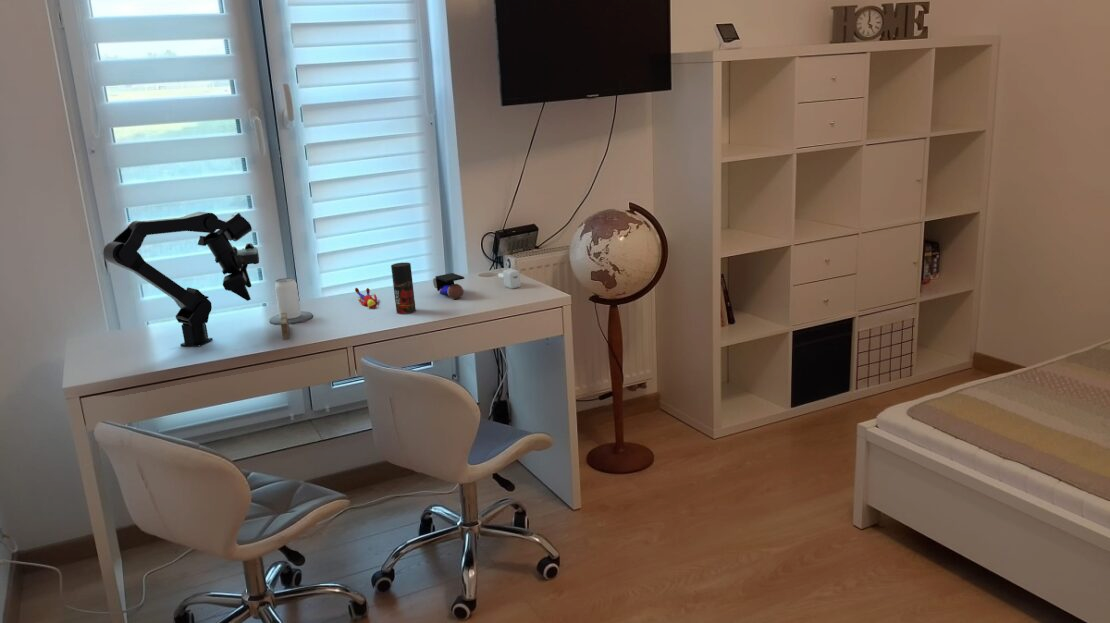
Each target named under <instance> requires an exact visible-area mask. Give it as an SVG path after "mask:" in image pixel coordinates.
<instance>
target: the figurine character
mask: <svg viewBox="0 0 1110 623" xmlns="http://www.w3.org/2000/svg"><path fill="white" fill-rule="evenodd" d="M460 280H461V281H462V280H465V276H462V275H459V274H457V273H454V272H449V273H445V274H440V275H436V276H435V278H433V279H432V283H433V286H434V288H435V289H436V290H437V291H438V292H439V294H441V295H448V297H449V298H450V299H453V300H458V299H460V298H462V297H463V295H464V288H463V287H462V286H461V285H460V284H458V283H455V282H456V281H460Z"/></svg>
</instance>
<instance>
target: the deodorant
mask: <svg viewBox="0 0 1110 623" xmlns="http://www.w3.org/2000/svg"><path fill="white" fill-rule="evenodd" d="M390 268H391V276H392V284H393V285H392V286H393V293H394V294H393V295H394V302H395V311H396V314H398V315H407V314H412V313H415V312H416V300H415V291H414V282H413V274H412V264H411V262H396V263H393V264H391V266H390Z"/></svg>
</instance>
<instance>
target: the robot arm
mask: <svg viewBox="0 0 1110 623" xmlns="http://www.w3.org/2000/svg"><path fill="white" fill-rule="evenodd" d="M252 229H253V227H252V225H251V224H250V222H249V221H248V220H247V219H246V218H245V217H244V216H243V215H241V213H240V212H234V213H233V214H232V215H231V216H229V217H228V218H227V219H225V220H222V219H219V217H218V216H217V215H216V214H215V213H214V212H206V211H197V212H196V211H195V212H193V213H189V214H186V215H185V216H181V217H173V218H171V217H170V218H163V219H162V218H161V219H151V220H134V221H132V222H130V224H129V225H128V226H127V227H126V228H125V229H124V230H122V231H121V232H120V233H119V234H118V235H117V236H116V237H115V238H114V239H113V241H111V242H108V243H106V245H104V248H103V257H104V259H105V260H106V261H107V262H109V263H111V264H114V265H116V266H118V267H121V268H122V269H125V270H128V271H130V272H133V273H134V274H135V275H137V276H139V277H140V278H142V280H144V281H146V282H147V283H148V284H150V285H152V286H153V287H155V288H156V289H158V290H159V291H161V292H162V293H163V294H165V295H166V296H168V297H170V298H171V299H172V300H173V301H174V303H176V305H177V306H178V308H180V309H179V310H178V312H177V313H176V315H175V319H176V320H177V322H178V323H180V324H182V325H181V331H182V336H183V341H184V342H182V343H180V347H201V346H203V345H205V344H207V343H209V342H211V341H213V340H214V338H213V337H209V334H208V329H207V328H208V327H207V323H208V322H209V317H210V313H211V312H212V309H213V308H212V306H213V305H212V302H211V301H210V300H209V296H206V295H204V294H203V293H202V292H201V291H200V290H199V289H197V288H192V287H190V286H189V287H186V289H185V288H184V287H183V286H181V285H180V284H178V283H177V282H175V281H174V280H173V279H171V278H170V277H168V276H167V275H166V274H163V273H162V272H161V271H159V270H158V269H156V268H155V267H154V266H152V265H151V264H150V263H148V262H146V261H145V260H144V258H143V257H142V255H141V254H140V253H139V252H138V251H139V250H140V248H141V247H142V245H143V242H144V240H145V238H146V237H147V236H150V235H152V236H153V235H161V234H168V233H169V234H170V233H171V234H172V233H178V232H180V233H181V232H192V233H193V232H195V233H204V234H206V233H207V234H206V235H204V236H203V235H199V239H198V242H197V245H198V246H202V247H206V246H207V247H208V248H209V250H210V252H211V253H212V255H213V256H214V261H215V264H219V266H220V267H221V269H222V271H221V272H222V274H223V275H224V277H223V280H222V287H223V288H224V290H225V291H228V292H231V293H233V294H235V295H237V296H239V297H240V298H242V299H244V300H245V301H247V302H249V301H250V300H252V297H251V296H250V293H249V290H248V288H251V287H252V283H251V279H250V276H249V273H248V266H249V265H252V264H253V265H257V264H259V263H260V255H259V249H258V248H257V247H256V246H254V244H253V243H251V242H249V243H246V244H245V246H244V248H241V249H237V247H235V246H234V245H232V243H231V241H233V242H238V241H239V240H240V239H242V238H243V237H245V236H246V235H248V234H249V233H251V232H252Z"/></svg>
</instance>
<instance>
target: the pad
mask: <svg viewBox="0 0 1110 623" xmlns="http://www.w3.org/2000/svg"><path fill="white" fill-rule="evenodd" d="M300 311H301V315H300V317H298V318H295V319H288V325H292V324H299V323H303V322H306V321H308V320H310V319H312V318H313V313H312V312H310V311H302V310H300ZM268 322H269V323H270V324H272V325H278V326H279V325H280V326H281V318H280V316H279V314H276V315H274V316H271V317H270V318H269V321H268Z"/></svg>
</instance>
